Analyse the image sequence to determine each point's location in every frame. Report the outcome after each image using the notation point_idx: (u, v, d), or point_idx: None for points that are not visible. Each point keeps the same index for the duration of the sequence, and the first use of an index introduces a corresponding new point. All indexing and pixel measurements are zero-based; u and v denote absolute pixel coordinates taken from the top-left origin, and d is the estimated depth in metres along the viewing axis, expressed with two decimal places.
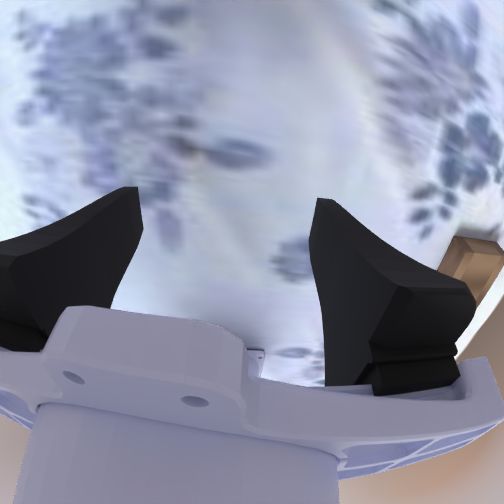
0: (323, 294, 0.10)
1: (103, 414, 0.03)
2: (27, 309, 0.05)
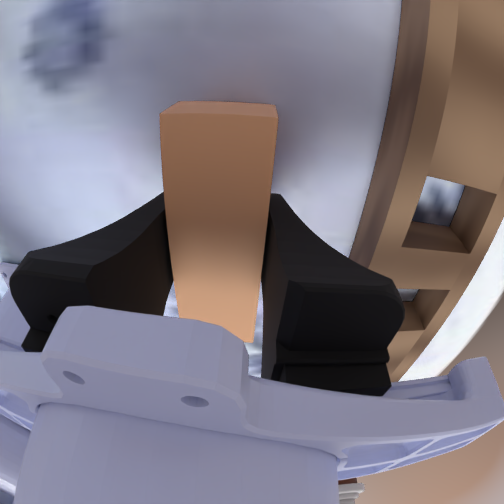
0: (264, 291, 0.10)
1: (103, 414, 0.03)
2: None
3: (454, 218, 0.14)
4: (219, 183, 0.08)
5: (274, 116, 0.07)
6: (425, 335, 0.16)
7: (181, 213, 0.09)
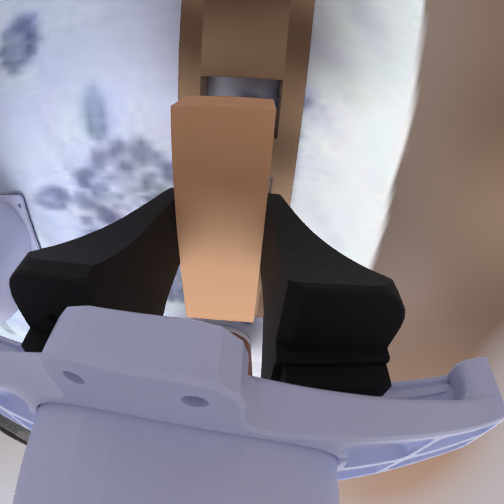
0: (264, 291, 0.10)
1: (103, 414, 0.03)
2: None
3: (276, 119, 0.18)
4: (223, 168, 0.09)
5: (272, 108, 0.08)
6: None
7: (188, 196, 0.09)
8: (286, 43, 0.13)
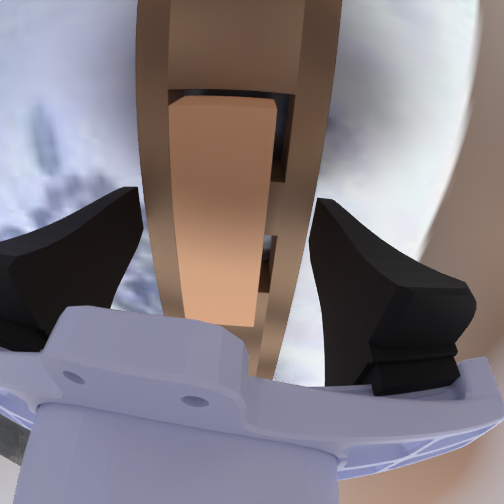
0: (323, 294, 0.10)
1: (103, 414, 0.03)
2: (28, 309, 0.05)
3: None
4: (222, 170, 0.09)
5: (273, 108, 0.08)
6: (275, 301, 0.15)
7: (186, 199, 0.09)
8: (301, 36, 0.08)
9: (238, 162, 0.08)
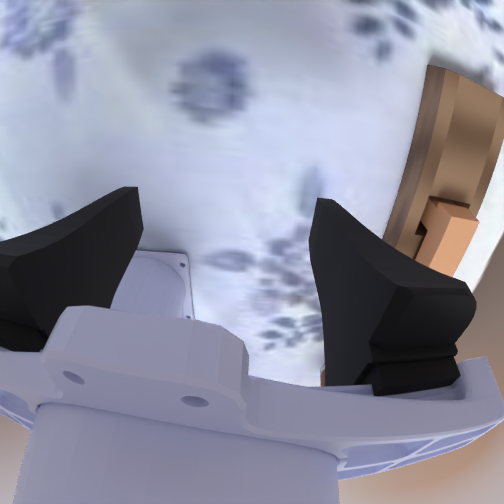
0: (323, 294, 0.10)
1: (103, 414, 0.03)
2: (27, 309, 0.05)
3: None
4: (457, 241, 0.18)
5: (478, 221, 0.17)
6: None
7: (440, 252, 0.19)
8: (479, 179, 0.17)
9: (462, 239, 0.18)
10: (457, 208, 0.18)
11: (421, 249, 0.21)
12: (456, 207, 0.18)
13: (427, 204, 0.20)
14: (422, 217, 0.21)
